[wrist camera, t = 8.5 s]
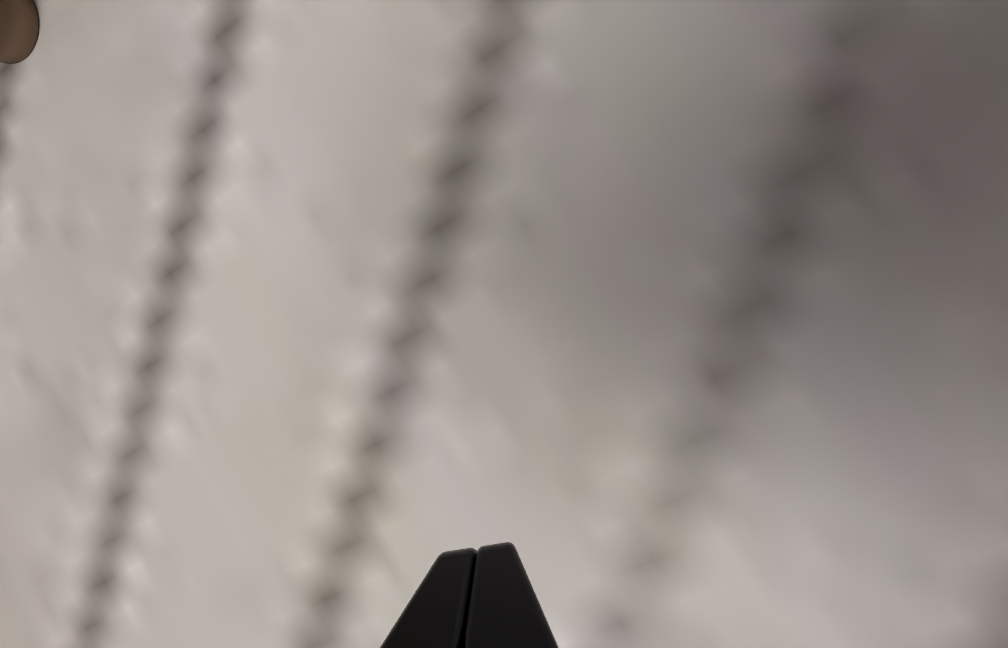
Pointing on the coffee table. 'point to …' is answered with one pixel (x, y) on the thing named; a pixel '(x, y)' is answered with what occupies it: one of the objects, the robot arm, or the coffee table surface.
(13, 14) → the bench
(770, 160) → the coffee table surface
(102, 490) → the coffee table surface
